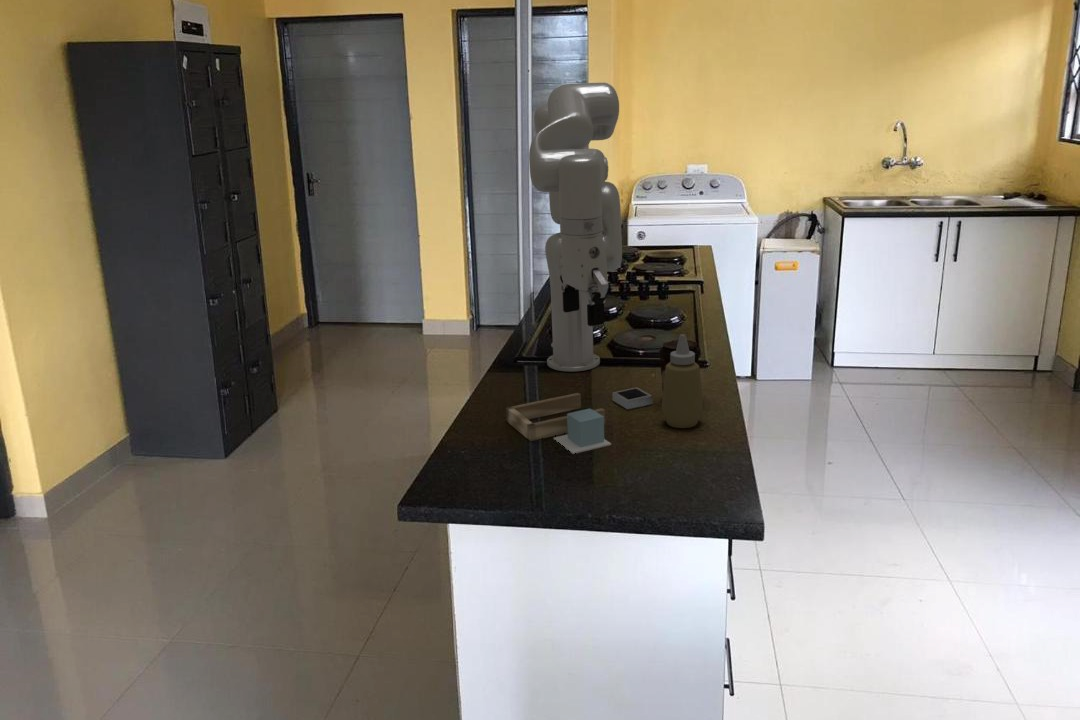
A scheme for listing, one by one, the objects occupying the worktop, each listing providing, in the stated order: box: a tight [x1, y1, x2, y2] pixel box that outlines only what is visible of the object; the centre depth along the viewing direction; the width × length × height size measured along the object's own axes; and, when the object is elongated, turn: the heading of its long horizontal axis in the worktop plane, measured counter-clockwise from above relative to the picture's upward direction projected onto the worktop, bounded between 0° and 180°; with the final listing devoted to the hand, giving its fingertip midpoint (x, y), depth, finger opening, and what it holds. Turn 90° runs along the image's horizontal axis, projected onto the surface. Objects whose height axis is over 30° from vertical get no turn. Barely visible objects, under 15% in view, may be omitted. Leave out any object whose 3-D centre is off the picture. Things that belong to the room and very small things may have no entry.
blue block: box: [566, 407, 605, 447], centre depth 162 cm, size 5×5×5 cm
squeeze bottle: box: [661, 333, 704, 429], centre depth 166 cm, size 8×8×18 cm
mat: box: [553, 433, 612, 455], centre depth 162 cm, size 8×8×1 cm
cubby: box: [505, 392, 606, 442], centre depth 171 cm, size 11×16×3 cm
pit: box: [612, 386, 653, 411], centre depth 180 cm, size 6×6×2 cm
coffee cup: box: [658, 339, 702, 392], centre depth 177 cm, size 9×8×13 cm
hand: (583, 317), depth 160 cm, fingers open, 9 cm apart
